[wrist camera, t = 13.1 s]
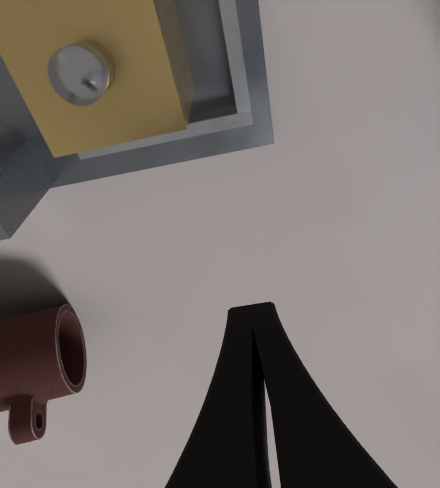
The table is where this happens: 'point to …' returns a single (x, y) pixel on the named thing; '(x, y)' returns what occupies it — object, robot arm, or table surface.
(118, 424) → the table surface
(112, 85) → the housing
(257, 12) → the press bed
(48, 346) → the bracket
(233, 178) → the table surface
